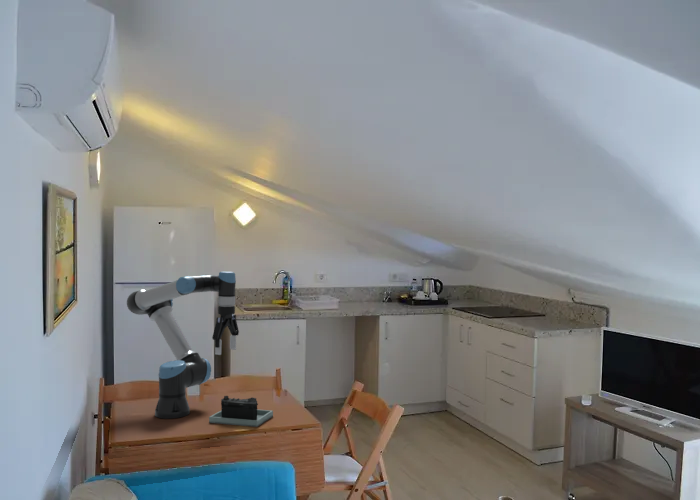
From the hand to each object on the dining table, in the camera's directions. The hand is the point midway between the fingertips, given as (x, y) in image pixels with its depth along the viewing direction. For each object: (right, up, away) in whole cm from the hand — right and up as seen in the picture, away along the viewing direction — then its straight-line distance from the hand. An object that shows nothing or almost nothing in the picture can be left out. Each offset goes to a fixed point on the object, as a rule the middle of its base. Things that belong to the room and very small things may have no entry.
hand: (225, 352), depth 269 cm
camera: (+9, -28, -10) cm, 31 cm away
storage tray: (+9, -28, -10) cm, 31 cm away
